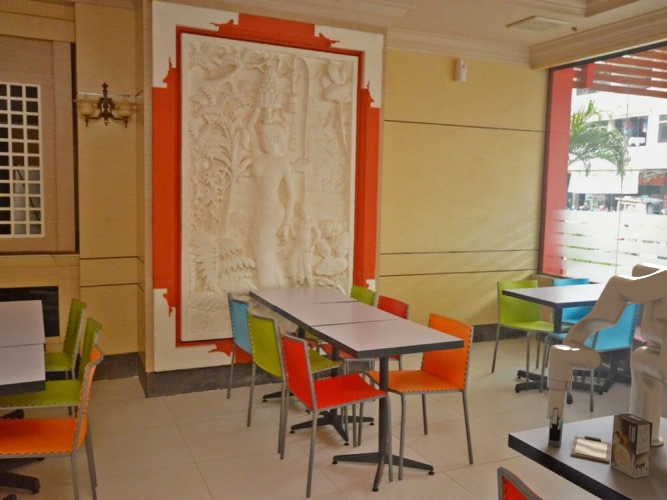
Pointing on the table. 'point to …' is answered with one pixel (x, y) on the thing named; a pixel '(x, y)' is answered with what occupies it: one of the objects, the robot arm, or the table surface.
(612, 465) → the coffee box
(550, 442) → the teal capped cylinder
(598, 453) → the clipboard
